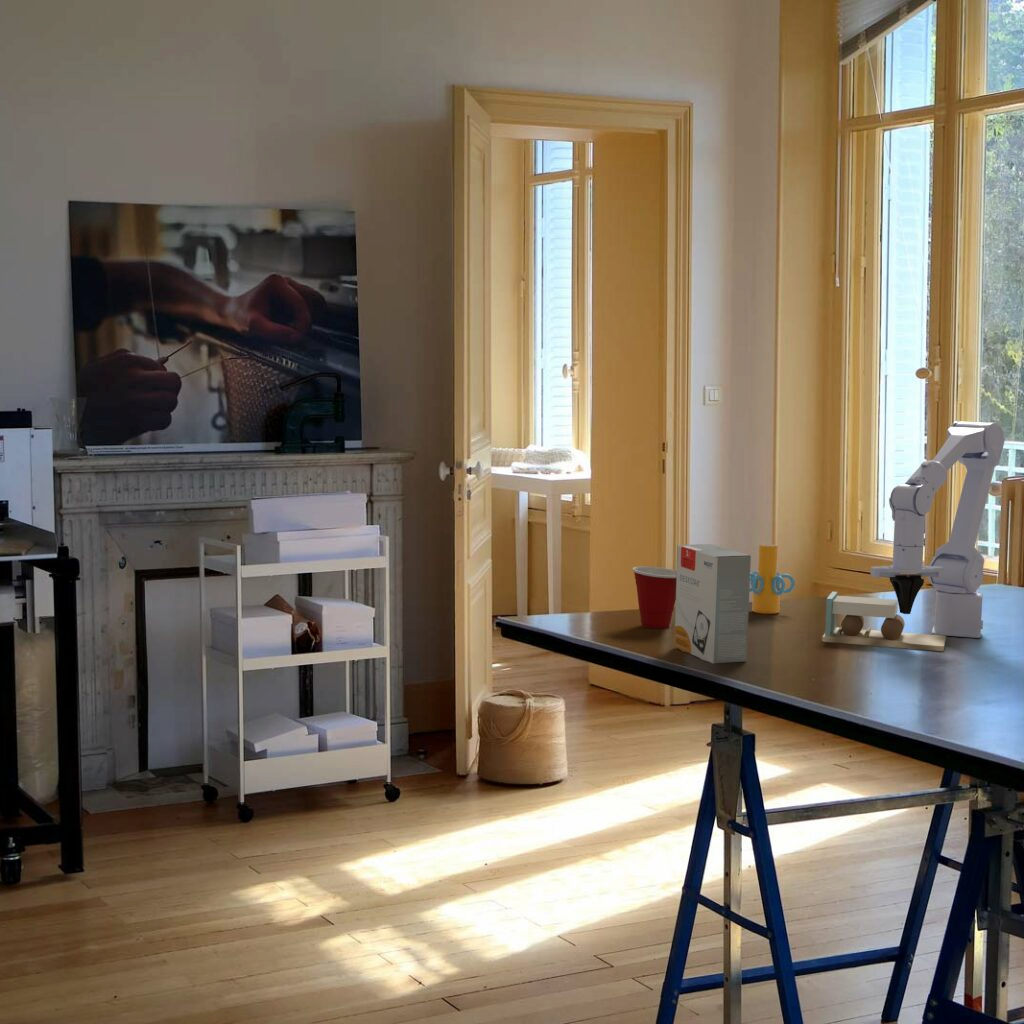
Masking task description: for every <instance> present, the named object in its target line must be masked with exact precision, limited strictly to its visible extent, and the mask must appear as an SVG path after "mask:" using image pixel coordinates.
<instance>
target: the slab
mask: <svg viewBox="0 0 1024 1024" xmlns="http://www.w3.org/2000/svg"><path fill="white" fill-rule="evenodd" d="M898 609H899V604H898V599H891V598H890V599H889V598H877V597H865V596H863V597H862V596H861V597H860V596H851V595H850V596H849V595H837V596H836V598H835V599H834V600H833V608H832V614H836V615H843V616H844V615H845V616H846V615H857V616H863V617H872V618H873V617H874V618H884V619H885V618H895V616H896V614H898Z"/></svg>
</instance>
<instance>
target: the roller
mask: <svg viewBox="0 0 1024 1024" xmlns="http://www.w3.org/2000/svg"><path fill="white" fill-rule="evenodd" d="M864 625H865V619H864V616H857V615H845V616H844V618H843V620H842V621H841V625H840V627H841V628H842V631H843V632H844V633H845V634H846V635H848V636H855V635H857V634H859V633H860V631H861V629H863V627H864Z"/></svg>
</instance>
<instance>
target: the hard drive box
mask: <svg viewBox="0 0 1024 1024" xmlns="http://www.w3.org/2000/svg"><path fill="white" fill-rule="evenodd" d="M676 546H677V547H676V548H677V550H676V555H677V556H676V571H677V575H676V600H675V605H674V610H675V611H674V633H673V634H674V636H673V638H674V640H673V641H674V642H673V646H674V648H676V649H678V650H680V651H681V652H683V653H687V654H689V655H692V656H695V657H697V658H699V659H700V660H702V661H706V662H708V663H710V664H725V663H741V662H742V663H743V662H747V658H748V656H747V655H748V639H749V638H748V635H749V634H748V632H749V610H750V592H749V589H750V588H751V583H750V573H751V565H752V564H751V559H752V556H751V555H750V554H747V553H743V552H740V551H738V550H737V551H736V550H733V549H729V548H726V547H721V546H718V545H716V544H710V543H707V544H706V543H703V544H677V545H676Z"/></svg>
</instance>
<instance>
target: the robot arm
mask: <svg viewBox="0 0 1024 1024" xmlns="http://www.w3.org/2000/svg"><path fill="white" fill-rule="evenodd" d="M1005 441H1006V438H1005V434H1004V431H1003V428H1002V426H1001V425H1000V423H998V422H995V421H994V422H984V421H983V422H979V421H978V422H977V421H961V420H955V421H953V422H952V423H951V425H950V426H949V428H947V430H946V441H945V442H944V443H943V445H941V446H942V447H940V450H939V451H938V452H937V454H936V455H935V456H934V457H933V459H932V460H924V461H922V463H921V464H920V466H919V467H918V468H917V469H916V470H915V472H914V473H913V474H912V475H911V476H910V477H909V478H908V479H907V480H906V482H904V483H900V484H897V486H895V487H894V488H893V489H892V491H891V493H890V497H888V503H889V508H890V510H891V518H892V521H893V522H894V524H893V525H894V527H893V528H894V529H893V548H892V550H893V551H892V564H891V565H881V566H880V565H879V566H871V567H870V578H871V577H872V578H875V579H877V578H878V579H879V578H889V581H890V583H891V586H892V587H893V590H894V593H895V595H896V600H898V609H899V613H900V614H903V615H911V612H912V609H913V605H914V602H915V599H916V597H917V596H918V593H919V591H920V590H921V588H922V587H923V586H924V584H925V579H924V578H928V580H929V583H930V584H931V585H932V586H933V587H932V589H933V590H936V591H935V592H936V593H935V610H934V626H932V630H931V635H942V636H946V637H947V636H948V637H961V638H974V639H980V638H981V630H983V627H984V620H982V617H983V616H982V612H983V598H984V597H983V595H984V594H983V593H982V592H977V590H978V589H979V588H980V587H981V586H982V583H983V579H984V565H985V558H984V557H983V555H982V554H981V553H980V551H979V550H978V549H977V548H976V544H977V539H978V536H979V532H980V527H981V523H982V520H983V516H984V511H985V508H986V505H987V500H988V496H989V491H990V488H991V484H992V480H993V477H994V472H995V469H996V467H998V465H999V464H1000V461H1001V457H1002V453H1003V449H1004V446H1005ZM957 462H958V463H960V464H962V465H964V466H965V468H966V473H965V477H964V481H963V485H962V489H961V492H960V497H959V500H958V505H957V509H956V512H955V516H954V521H953V524H952V528H951V533H950V537H949V540H948V542H946V543H943V544H942V545H941V546H939V547H938V548H937V549H935V553H934V556H933V558H932V560H931V562H930V563H929V565H928V566H927V565H924V564H923V563H924V541H925V521H926V520H925V518H926V514H927V513H929V512H931V511H930V510H931V508H932V507H933V506H932V505H933V501H934V499H935V497H936V495H935V494H936V493H937V492H938V490H940V488H941V487H942V486H944V484H945V483H946V482H947V480H948V471H949V470H950V469H951V468H952V467H953V466H954V465H955V464H956V463H957ZM923 577H924V578H923Z"/></svg>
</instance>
